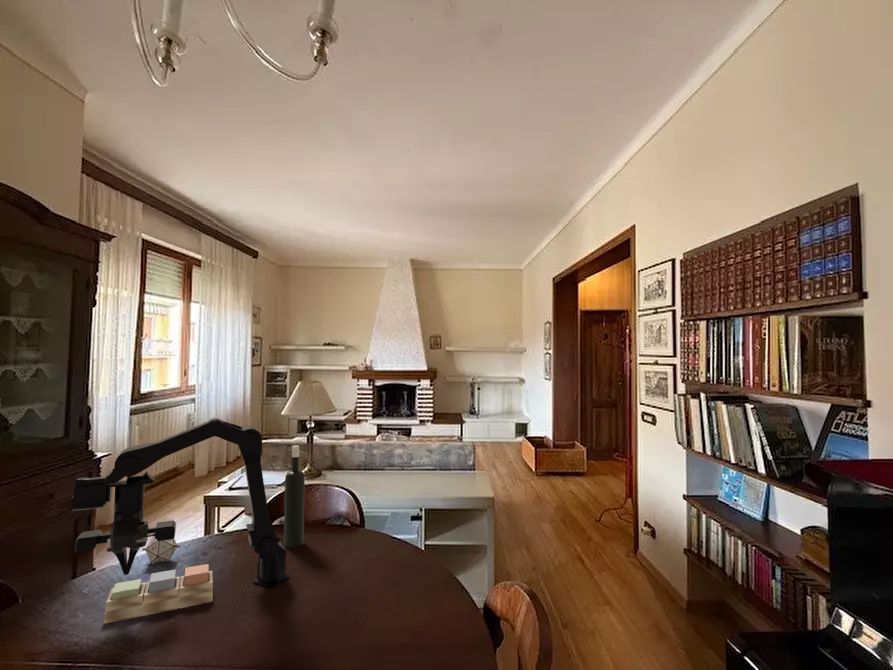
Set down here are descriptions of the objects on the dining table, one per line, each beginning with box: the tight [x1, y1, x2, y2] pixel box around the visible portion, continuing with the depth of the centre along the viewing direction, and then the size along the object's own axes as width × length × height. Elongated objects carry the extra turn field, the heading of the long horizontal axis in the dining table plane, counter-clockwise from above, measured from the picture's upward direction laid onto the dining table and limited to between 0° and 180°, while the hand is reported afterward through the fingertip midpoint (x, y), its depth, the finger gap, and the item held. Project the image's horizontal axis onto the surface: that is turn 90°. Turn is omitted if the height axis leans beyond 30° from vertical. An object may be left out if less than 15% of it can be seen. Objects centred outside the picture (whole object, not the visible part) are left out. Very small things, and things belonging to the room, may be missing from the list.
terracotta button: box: [184, 563, 210, 586], centre depth 114 cm, size 5×5×3 cm
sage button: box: [112, 578, 142, 600], centre depth 108 cm, size 5×5×3 cm
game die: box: [141, 536, 181, 566], centre depth 133 cm, size 9×8×10 cm
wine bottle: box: [283, 444, 306, 549], centre depth 147 cm, size 6×6×30 cm
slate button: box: [148, 569, 177, 593], centre depth 111 cm, size 5×5×3 cm
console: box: [103, 570, 214, 625], centre depth 111 cm, size 21×9×4 cm, turn 117°
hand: (126, 574), depth 108 cm, fingers closed
